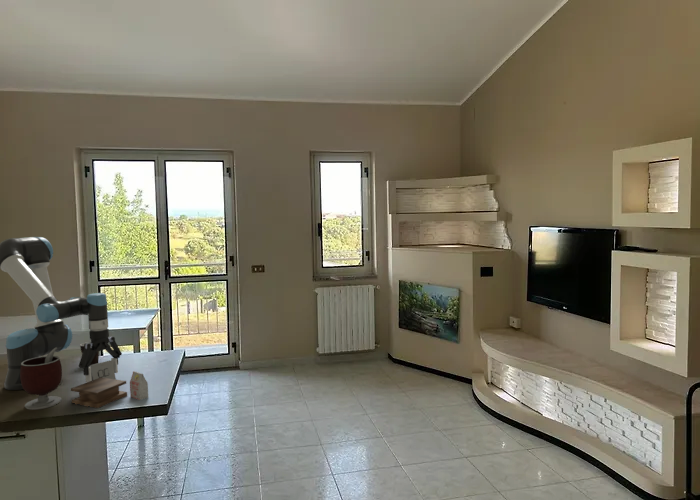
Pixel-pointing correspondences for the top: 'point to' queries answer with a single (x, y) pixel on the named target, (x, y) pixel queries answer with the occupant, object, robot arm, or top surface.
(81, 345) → the coffee mug
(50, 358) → the mate gourd
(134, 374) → the milk carton
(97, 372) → the electrical switch
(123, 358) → the top surface
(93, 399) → the walnut stand
